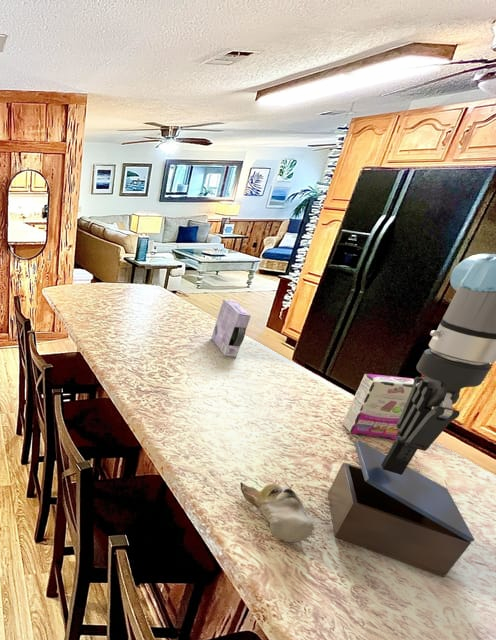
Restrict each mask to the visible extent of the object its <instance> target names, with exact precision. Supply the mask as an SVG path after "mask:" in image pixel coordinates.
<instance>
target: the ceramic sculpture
mask: <svg viewBox="0 0 496 640" xmlns="http://www.w3.org/2000/svg"><path fill="white" fill-rule="evenodd" d="M239 483H240V485H239V486H240V490H241V493H242V495H243V497H244V499H245V500H246V501H247V503H249V504H251V505H252V506H254V508H256V509H257V510H259V511H260V512H261V513H262V515H263V516H264V517H265V518H266V520H267V521H268V522H269V531H270V532H271V534H272V536H273V537H275V538H276V539H279V540H281V541H284V542H286V543H294V542H301V541H304V540H306V539H308V538H309V537H310V536H311V534H312V532H313V531H314V530H315V527H314V523H313V521H312V520H311V519H310V518H308V517H307V513H306V511H305V507H304V505H303V502H301V499H300V498H299V497H298V494H297V493H296V492H295V491H294V490H293V489H292V488H290V487H289V486H287V485H283V484H279V483H278V484H277V483H271V484H267V485H264V487H263V488H262V489H261V490H258V489H257V488H255V487H252V486H248V485H246V484H245V483H243V482H242V481H240V482H239Z"/></svg>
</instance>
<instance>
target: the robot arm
mask: <svg viewBox="0 0 496 640" xmlns="http://www.w3.org/2000/svg"><path fill="white" fill-rule="evenodd" d="M449 278H450V279H449V282H450V285H451V287H452V289H453V290H454V291H456V292H455V293H454V295H453V297H452V299H451V301H450V303H449V305H448V307H447V309H446V311H445V313H444V314H443V316H442V319H441V320H440V323H439V325H438V327H437V329H436V330H434V329H433V330H431V331H430V332H429V335H430V336H431V339H430V341H429V343H428V347H429V348H428V349H425V350H423V353H422V355H421V357H420V358H419V361H418V362H417V364H416V371H417V372H418V373H420V374H421V375H422V376H424V377H419V376H416V377H415V378H413V379H414V383H413V387H412V390H411V392H410V395H409V397H408V399H407V402H406V404H405V406H404V409H403V411H402V413H401V416H400V418H399V420H398V423H397V425H396V427H397V428H400V429H399V430H398V432H397V435H398V436H399V437H396V439H394V441H393V443H392V444H391V447H390V448H389V450H388V451H387V453H386V454H385V455H386V457H385V459H384V461H383V462H382V464H381V466H382V469H383V470H387V471H390V472H394V473H397V474H400V475H402V474H403V472H404V471H405V469H406V467H408V466H409V464H410V462H411V461H412V460H413V458H414V456H415V454H416V452H417V451H418V450H419V451H423V452H426V451H427V450H428V449H429V448H430V447H431V446H432V444H433V443H434V442H435V441H436V439H438V437H439V436H441V434H442V433H443V432H444V430H445V429H446V428H447V427H448V426H449V424H450V423H452V422H453V421H455V420H456V419H457V418H459V416H460V411H459V410H457V409H453V405H455V404H456V403H457V402H458V401H459V399H460V393H461V390H462V389H464V388H475V387H479V386H480V385H481V384H483V382H484V380H485V379H486V377H487V375H488V374H489V372H490V371H491V369H492V363H496V253H478V254H474V255H470V256H469V257H466V258H464V259H463V260H461V262H459V263H458V264H457V265H456V266H455V267H454V268H453V269H452V271H451V275H450V277H449Z"/></svg>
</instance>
